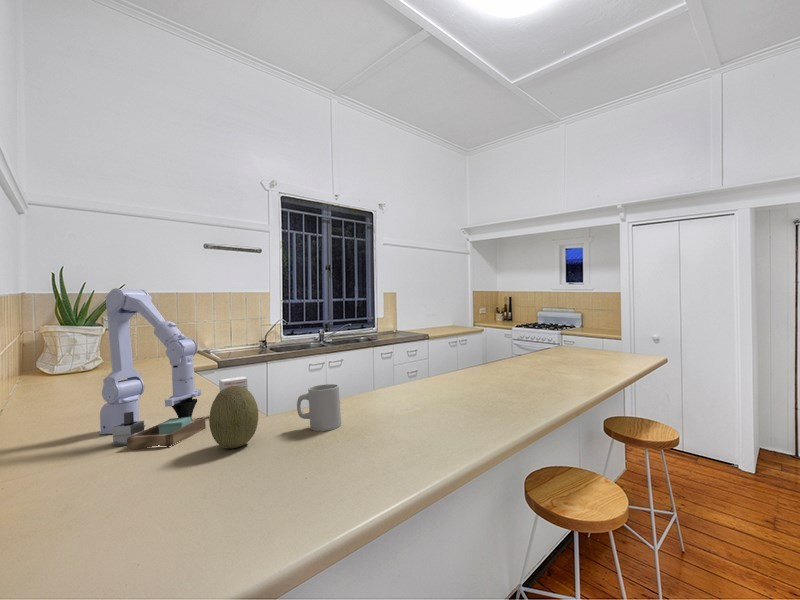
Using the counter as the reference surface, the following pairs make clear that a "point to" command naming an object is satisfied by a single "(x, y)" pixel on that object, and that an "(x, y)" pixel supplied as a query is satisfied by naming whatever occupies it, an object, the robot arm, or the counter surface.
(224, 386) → the ink box
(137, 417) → the robot arm
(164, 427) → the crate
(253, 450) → the counter surface
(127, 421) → the pin
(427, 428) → the counter surface
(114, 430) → the grey piece
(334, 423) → the mug
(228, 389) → the fruit
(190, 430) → the bay
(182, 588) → the counter surface
